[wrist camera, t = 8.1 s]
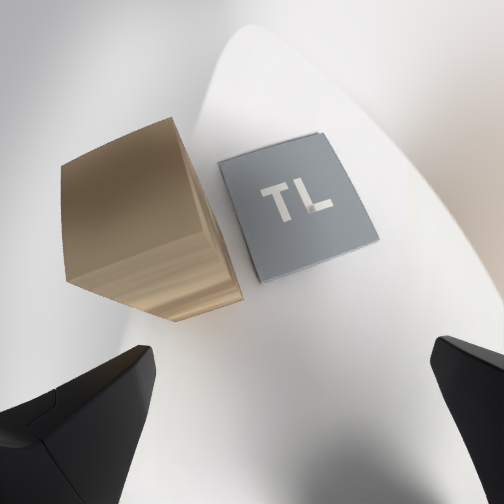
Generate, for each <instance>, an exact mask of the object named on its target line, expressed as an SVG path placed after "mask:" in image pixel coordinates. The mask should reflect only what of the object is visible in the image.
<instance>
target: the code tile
mask: <svg viewBox="0 0 504 504" xmlns="http://www.w3.org/2000/svg"><path fill="white" fill-rule="evenodd" d="M219 165H220V168H221V171H222V174H223V177H224V180H225V183H226V185H227V188H228V191H229V194H230V197H231V200H232V202H233V205H234V208H235V211H236V214H237V217H238V220H239V222H240V225H241V228H242V231H243V234H244V237H245V239H246V242H247V245H248V248H249V251H250V254H251V257H252V259H253V262H254V265H255V268H256V271H257V274H258V276H259V279H260V282H261V284H263V283H265V282H268V281H271V280H274V279H277V278H280V277H283V276H286V275H288V274H291V273H294V272H297V271H300V270H302V269H305V268H308V267H311V266H314V265H316V264H319V263H322V262H325V261H327V260H330V259H333V258H336V257H338V256H341V255H344V254H346V253H349V252H352V251H354V250H357V249H360V248H362V247H365V246H368V245H370V244H373V243H376V242H378V240H379V237H378V234H377V232H376V230H375V228H374V226H373V224H372V222H371V220H370V218H369V216H368V214H367V212H366V209H365V207H364V205H363V204H362V202H361V200H360V198H359V196H358V194H357V192H356V190H355V188H354V186H353V184H352V182H351V180H350V179H349V177H348V175H347V173H346V171H345V169H344V168H343V166H342V164H341V162H340V160H339V159H338V157H337V155H336V153H335V152H334V150H333V148H332V146H331V145H330V143H329V141H328V139H327V138H326V136H325V134H324V133H321V134H317V135H313V136H309V137H305V138H301V139H297V140H294V141H290V142H286V143H283V144H279V145H276V146H272V147H269V148H265V149H262V150H259V151H255V152H252V153H249V154H245V155H242V156H239V157H236V158H233V159H230V160H227V161H224V162H221V163H219Z"/></svg>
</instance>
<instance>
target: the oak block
mask: <svg viewBox="0 0 504 504" xmlns="http://www.w3.org/2000/svg"><path fill="white" fill-rule="evenodd" d="M61 222H62V240H63V253H64V264H65V273H66V281H67V282H68V283H71V284H73V285H76V286H78V287H80V288H83V289H85V290H88V291H90V292H93V293H96V294H98V295H101V296H103V297H106V298H109V299H111V300H114V301H117V302H119V303H122V304H125V305H127V306H130V307H133V308H136V309H138V310H141V311H144V312H147V313H150V314H153V315H156V316H159V317H162V318H165V319H168V320H171V321H174V322H177V321H180V320H184V319H187V318H190V317H193V316H196V315H199V314H202V313H205V312H208V311H212V310H215V309H218V308H221V307H224V306H227V305H230V304H233V303H236V302H239V301H241V300H244V299H243V296H242V293H241V290H240V287H239V284H238V281H237V278H236V275H235V272H234V269H233V266H232V263H231V260H230V257H229V254H228V251H227V248H226V245H225V242H224V239H223V236H222V233H221V231H220V228H219V226H218V224H217V222H216V219H215V217H214V215H213V212H212V210H211V208H210V206H209V203H208V201H207V199H206V196H205V194H204V192H203V189H202V187H201V185H200V182H199V180H198V178H197V175H196V173H195V171H194V168H193V166H192V164H191V161H190V159H189V157H188V154H187V152H186V150H185V147H184V145H183V142H182V140H181V138H180V136H179V133H178V131H177V128H176V126H175V123H174V121H173V119H172V117H170V118H167V119H165V120H162V121H159V122H157V123H154V124H152V125H149V126H147V127H144V128H142V129H139V130H137V131H134V132H132V133H130V134H127V135H125V136H123V137H120V138H118V139H116V140H114V141H111V142H109V143H107V144H105V145H103V146H101V147H99V148H97V149H94V150H92V151H90V152H88V153H86V154H84V155H82V156H80V157H78V158H76V159H74V160H72V161H70V162H68V163H66V164H65V165H63V166H61Z"/></svg>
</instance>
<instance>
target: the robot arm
mask: <svg viewBox="0 0 504 504" xmlns="http://www.w3.org/2000/svg"><path fill="white" fill-rule="evenodd" d="M430 364H431V367H432V370H433V372H434V375H435V377H436V380H437V382H438V385H439V388H440V390H441V393H442V395H443V398H444V400H445V402H446V405H447V407H448V409H449V411H450V413H451V415H452V417H453V419H454V421H455V423H456V425H457V427H458V430H459V432H460V434H461V436H462V438H463V441H464V443H465V445H466V447H467V450H468V452H469V454H470V457H471V459H472V461H473V464H474V466H475V469H476V471H477V473H478V476H479V479H480V481H481V484H482V486H483V489H484V492H485V494H486V495H487V496H486V498H487V500H488V503H489V504H504V355H502V354H499V353H497V352H494V351H491V350H488V349H485V348H482V347H479V346H476V345H474V344H471V343H468V342H465V341H462V340H459V339H457V338H454V337H451V336H440V337H438V338H437V339H436V341H435V344H434V347H433V351H432V354H431V358H430ZM155 377H156V366H155V361H154V355H153V350H152V348H151V347H150V346H145V345H137V346H135V347H134V348H132V349H130V350H128V351H126V352H124V353H122V354H120V355H119V356H117V357H115V358H113V359H111V360H109V361H107V362H105V363H103V364H101V365H100V366H98V367H96V368H94V369H92V370H90V371H88V372H86V373H84V374H82V375H80V376H78V377H76V378H75V379H73V380H71V381H69V382H67V383H65V384H63V385H61V386H59V387H57V388H56V389H53V390H51V391H49V392H48V393H45V394H43V395H41V396H39V397H37V398H35V399H33V400H30V401H28V402H25V403H23V404H20V405H18V406H15V407H13V408H10V409H7V410H5V411H2V412H0V504H118V503H119V500H120V497H121V494H122V490H123V487H124V484H125V481H126V478H127V475H128V472H129V469H130V465H131V462H132V459H133V456H134V453H135V450H136V447H137V444H138V441H139V438H140V436H141V433H142V430H143V427H144V424H145V421H146V418H147V414H148V410H149V405H150V400H151V396H152V391H153V386H154V382H155Z"/></svg>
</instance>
